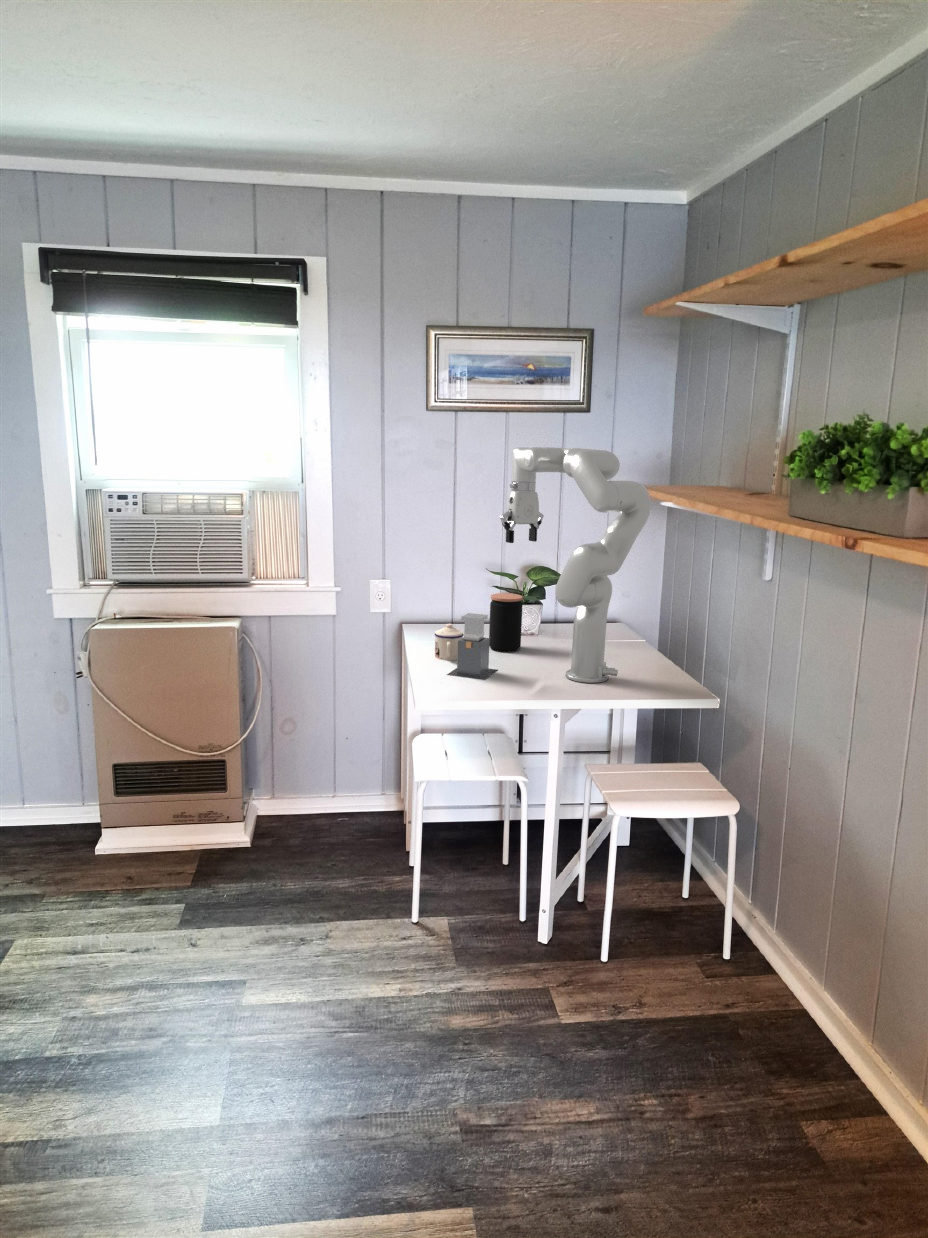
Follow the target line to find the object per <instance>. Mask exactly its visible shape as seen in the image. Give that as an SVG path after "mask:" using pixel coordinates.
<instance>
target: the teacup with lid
mask: <svg viewBox="0 0 928 1238" xmlns="http://www.w3.org/2000/svg"><path fill="white" fill-rule="evenodd" d="M434 636H435V637H434V658H435V659H438V660H441V661H457V656H458V640H460V639H462V638H463V637H464V631H462V630H460V629H457V628H456V627H454V626H453V624H452V623H446V624H445V626H444V627H442V628H441V629H440V628H439V629H437V630H436V631H435V632H434Z"/></svg>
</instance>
